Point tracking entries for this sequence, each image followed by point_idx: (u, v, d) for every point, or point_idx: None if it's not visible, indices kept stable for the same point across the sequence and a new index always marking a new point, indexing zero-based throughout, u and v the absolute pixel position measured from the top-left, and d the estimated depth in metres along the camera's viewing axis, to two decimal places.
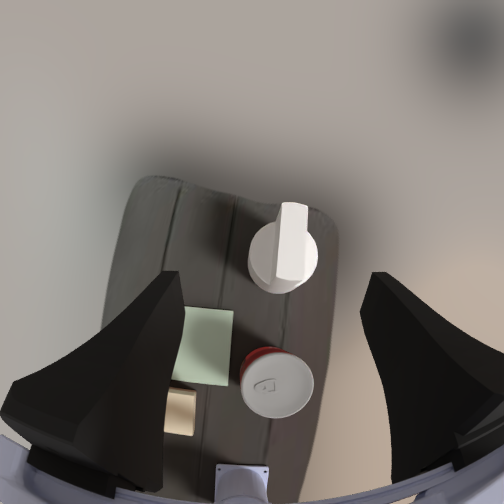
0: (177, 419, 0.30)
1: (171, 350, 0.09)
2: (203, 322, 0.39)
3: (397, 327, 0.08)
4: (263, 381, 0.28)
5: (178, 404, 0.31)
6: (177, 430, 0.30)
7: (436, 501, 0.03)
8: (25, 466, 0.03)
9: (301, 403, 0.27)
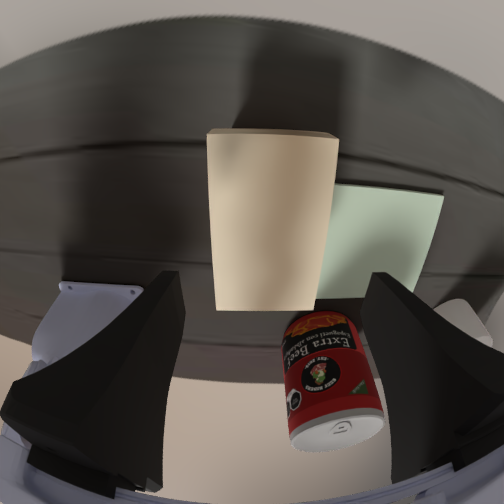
0: (253, 284, 0.16)
1: (171, 350, 0.09)
2: (407, 258, 0.22)
3: (397, 327, 0.08)
4: (350, 425, 0.17)
5: (292, 286, 0.16)
6: (225, 284, 0.16)
7: (436, 501, 0.03)
8: (25, 466, 0.03)
9: (308, 449, 0.19)
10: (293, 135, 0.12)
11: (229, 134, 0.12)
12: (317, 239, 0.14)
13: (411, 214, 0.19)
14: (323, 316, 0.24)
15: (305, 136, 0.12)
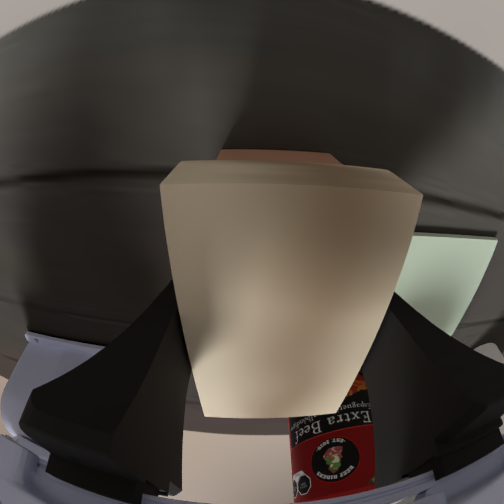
0: (255, 397, 0.10)
1: None
2: (446, 314, 0.16)
3: (380, 329, 0.08)
4: None
5: (311, 397, 0.10)
6: (214, 396, 0.10)
7: (436, 501, 0.03)
8: (25, 466, 0.03)
9: None
10: (341, 186, 0.06)
11: (206, 184, 0.06)
12: (357, 348, 0.08)
13: (460, 265, 0.14)
14: None
15: (364, 189, 0.06)
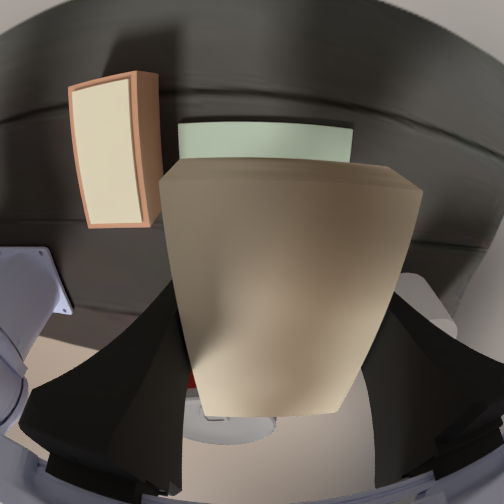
0: (256, 396, 0.10)
1: None
2: None
3: (380, 329, 0.08)
4: None
5: (312, 395, 0.10)
6: (214, 395, 0.10)
7: (436, 501, 0.03)
8: (25, 466, 0.03)
9: (191, 437, 0.17)
10: (341, 182, 0.06)
11: (205, 180, 0.06)
12: (358, 346, 0.08)
13: (306, 152, 0.17)
14: None
15: (364, 185, 0.06)
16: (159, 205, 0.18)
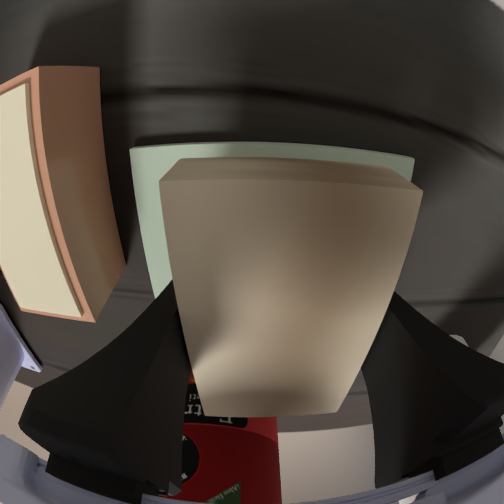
0: (256, 396, 0.10)
1: None
2: None
3: (380, 329, 0.08)
4: None
5: (312, 395, 0.10)
6: (214, 395, 0.10)
7: (436, 501, 0.03)
8: (25, 466, 0.03)
9: None
10: (341, 182, 0.06)
11: (205, 180, 0.06)
12: (358, 346, 0.08)
13: None
14: None
15: (364, 185, 0.06)
16: (112, 278, 0.11)
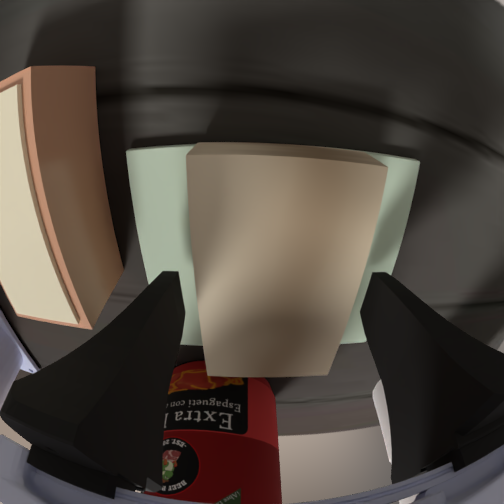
0: (254, 352, 0.12)
1: (171, 350, 0.09)
2: None
3: (397, 327, 0.08)
4: None
5: (304, 353, 0.12)
6: (217, 351, 0.12)
7: (436, 501, 0.03)
8: (25, 466, 0.03)
9: None
10: (322, 159, 0.07)
11: (221, 155, 0.07)
12: (343, 302, 0.10)
13: None
14: (204, 370, 0.15)
15: (340, 161, 0.07)
16: (109, 283, 0.11)
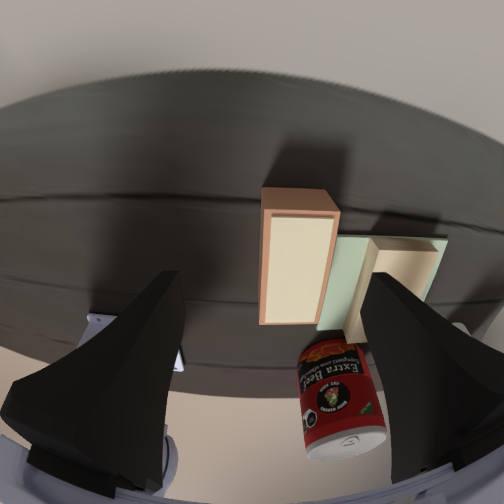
0: None
1: (171, 350, 0.09)
2: None
3: (397, 327, 0.08)
4: (358, 439, 0.19)
5: None
6: (359, 328, 0.23)
7: (436, 501, 0.03)
8: (25, 466, 0.03)
9: (320, 459, 0.21)
10: (419, 250, 0.19)
11: (390, 250, 0.19)
12: None
13: None
14: (335, 344, 0.26)
15: (424, 251, 0.19)
16: None
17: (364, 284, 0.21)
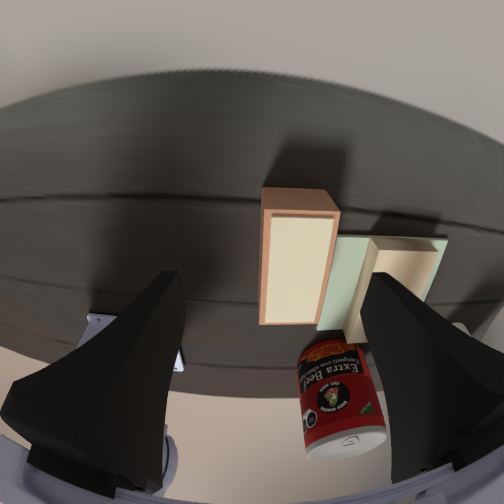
0: None
1: (171, 350, 0.09)
2: None
3: (397, 327, 0.08)
4: (358, 439, 0.19)
5: None
6: (359, 328, 0.23)
7: (436, 501, 0.03)
8: (25, 466, 0.03)
9: (320, 459, 0.21)
10: (419, 250, 0.19)
11: (390, 250, 0.19)
12: None
13: None
14: (335, 344, 0.26)
15: (424, 251, 0.19)
16: None
17: (364, 284, 0.21)
